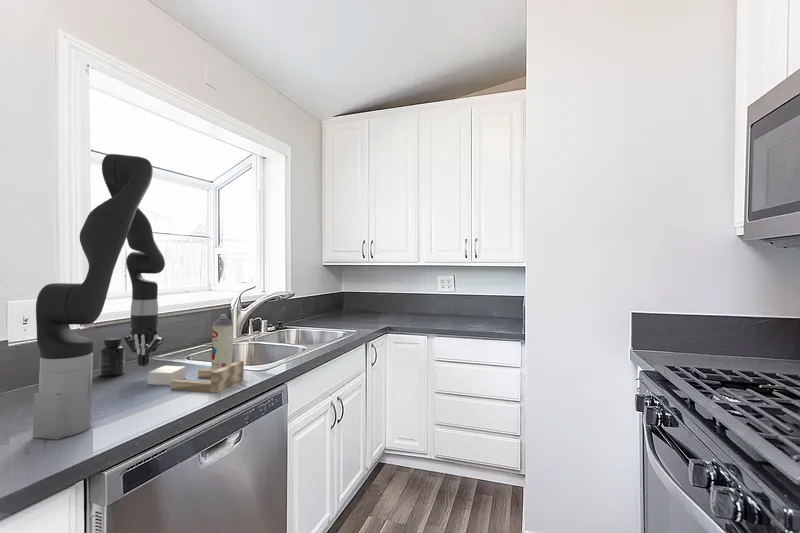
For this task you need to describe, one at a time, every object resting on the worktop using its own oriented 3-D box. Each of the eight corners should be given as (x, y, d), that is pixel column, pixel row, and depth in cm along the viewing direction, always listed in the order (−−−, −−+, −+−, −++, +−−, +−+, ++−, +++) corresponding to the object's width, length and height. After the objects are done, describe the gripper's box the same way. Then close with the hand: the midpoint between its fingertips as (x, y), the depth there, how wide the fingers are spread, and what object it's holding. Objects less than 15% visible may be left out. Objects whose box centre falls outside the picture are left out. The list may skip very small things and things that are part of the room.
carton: (170, 385, 126) (171, 373, 126) (148, 384, 126) (148, 372, 126) (185, 378, 134) (185, 366, 134) (164, 377, 134) (164, 365, 134)
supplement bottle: (128, 374, 136) (129, 338, 136) (104, 378, 130) (105, 341, 130) (118, 370, 140) (119, 336, 140) (95, 374, 134) (96, 338, 134)
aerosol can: (209, 368, 146) (211, 313, 145) (230, 366, 149) (231, 313, 149) (212, 373, 140) (214, 316, 140) (233, 371, 144) (235, 315, 143)
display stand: (216, 392, 119) (217, 372, 119) (170, 389, 122) (171, 369, 122) (243, 378, 134) (243, 361, 134) (201, 375, 136) (202, 358, 136)
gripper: (116, 313, 128) (115, 367, 129) (154, 315, 127) (153, 370, 127) (135, 310, 136) (134, 361, 136) (171, 312, 134) (169, 364, 134)
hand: (143, 365), depth 131 cm, fingers closed
